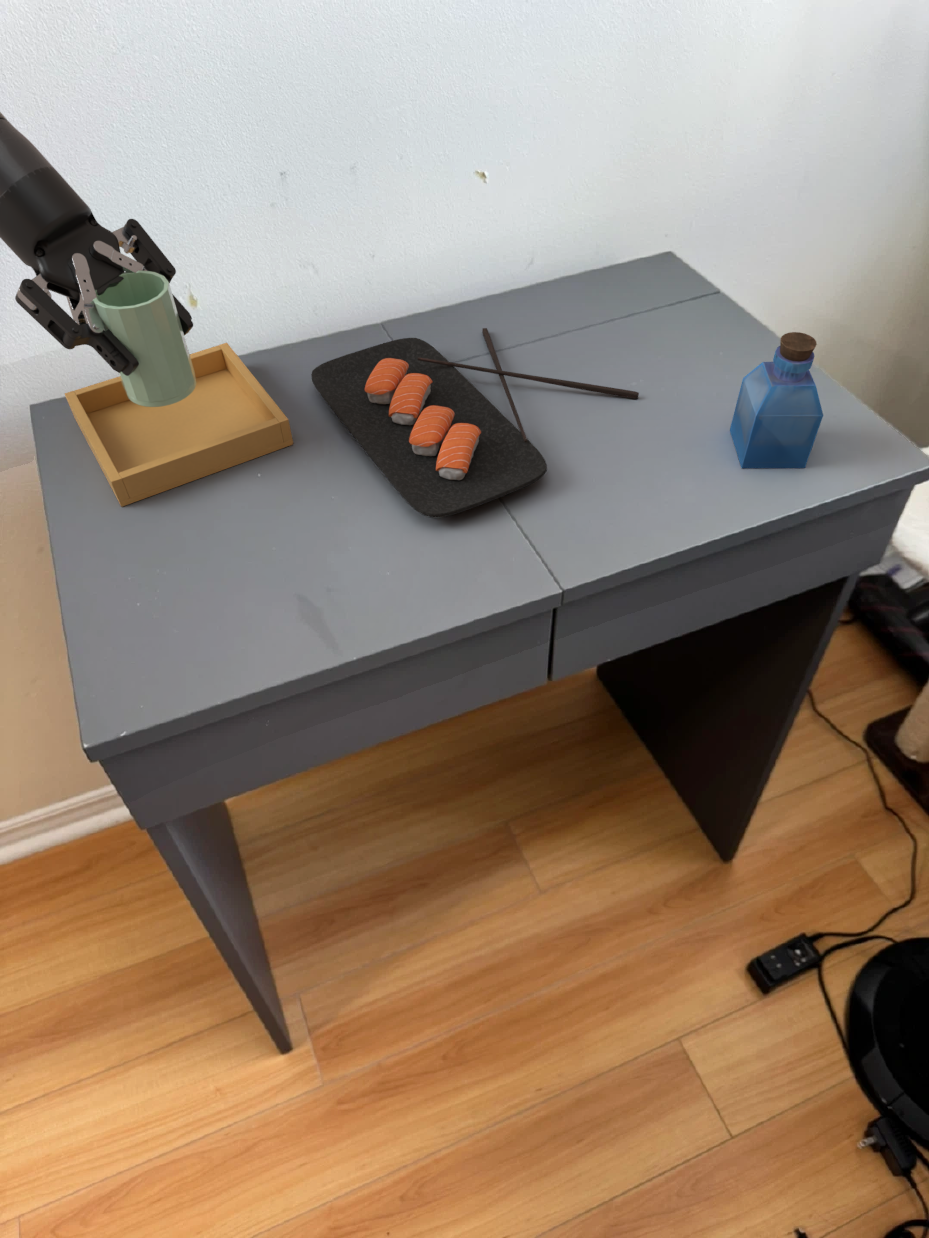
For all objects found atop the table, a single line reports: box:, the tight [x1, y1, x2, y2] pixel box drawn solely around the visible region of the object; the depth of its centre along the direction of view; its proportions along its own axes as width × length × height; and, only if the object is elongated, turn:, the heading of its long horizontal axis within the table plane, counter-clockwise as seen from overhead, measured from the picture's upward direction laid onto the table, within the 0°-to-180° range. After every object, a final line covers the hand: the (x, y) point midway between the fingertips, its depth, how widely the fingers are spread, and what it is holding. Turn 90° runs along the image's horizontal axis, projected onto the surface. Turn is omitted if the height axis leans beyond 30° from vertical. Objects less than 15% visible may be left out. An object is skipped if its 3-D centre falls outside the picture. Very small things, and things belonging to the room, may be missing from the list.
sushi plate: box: [310, 327, 640, 518], centre depth 92 cm, size 29×30×4 cm
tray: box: [64, 342, 294, 508], centre depth 90 cm, size 18×17×3 cm
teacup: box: [93, 271, 196, 407], centre depth 80 cm, size 7×7×10 cm
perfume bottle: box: [729, 331, 824, 469], centre depth 83 cm, size 6×6×12 cm
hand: (161, 350), depth 80 cm, fingers closed on teacup, 6 cm apart
